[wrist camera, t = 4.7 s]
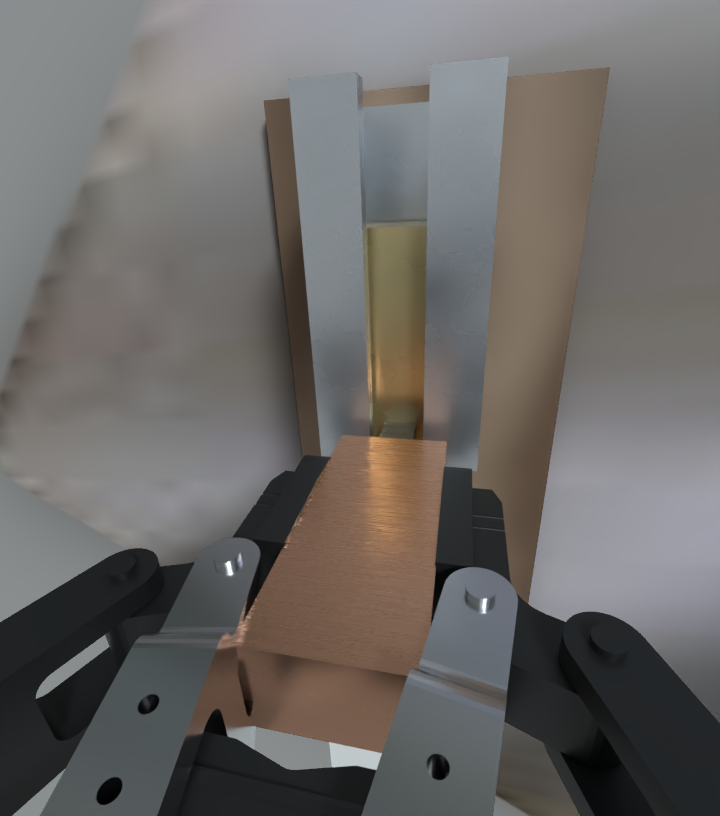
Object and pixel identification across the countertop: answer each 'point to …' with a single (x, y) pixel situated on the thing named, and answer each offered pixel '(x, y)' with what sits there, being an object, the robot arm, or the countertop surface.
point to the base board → (510, 287)
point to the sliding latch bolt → (358, 541)
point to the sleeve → (394, 202)
